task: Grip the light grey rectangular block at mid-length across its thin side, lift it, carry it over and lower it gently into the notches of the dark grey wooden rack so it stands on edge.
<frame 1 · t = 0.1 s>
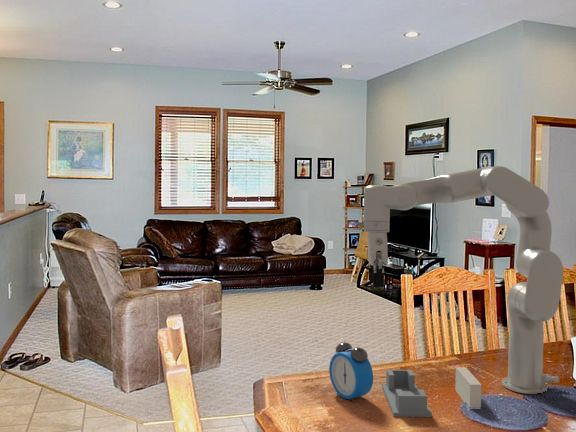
hand: (376, 283, 165), 31 cm above the table, fingers open, 9 cm apart
light grey rectangular block: (467, 399, 157), on the table
rack: (405, 401, 155), on the table
alarm clock: (350, 397, 158), on the table
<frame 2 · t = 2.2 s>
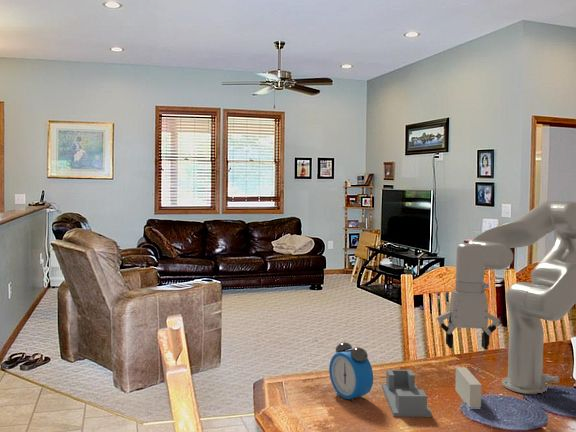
hand: (467, 347, 156), 15 cm above the table, fingers open, 9 cm apart
nothing on the table moved.
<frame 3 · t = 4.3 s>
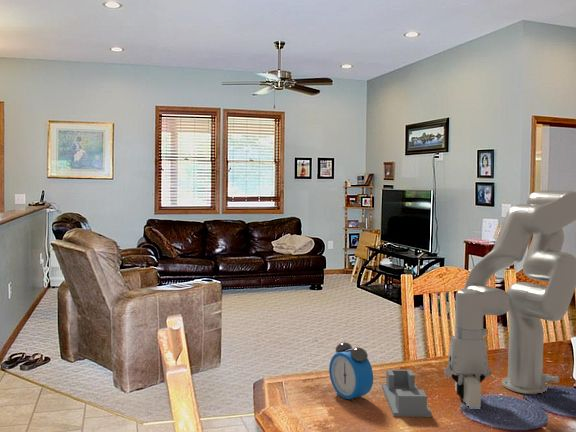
hand: (467, 396, 157), 1 cm above the table, fingers closed on light grey rectangular block, 3 cm apart
light grey rectangular block: (467, 399, 157), on the table, touching gripper
everything else where it was.
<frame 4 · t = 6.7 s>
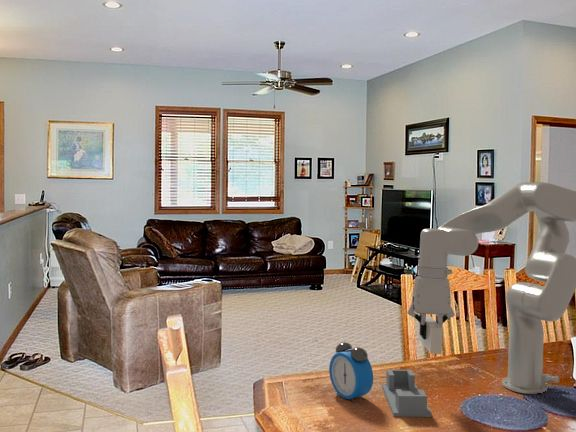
hand: (429, 337, 154), 18 cm above the table, fingers closed on light grey rectangular block, 2 cm apart
light grey rectangular block: (429, 346, 155), point 16 cm above the table, touching gripper
everything else where it was.
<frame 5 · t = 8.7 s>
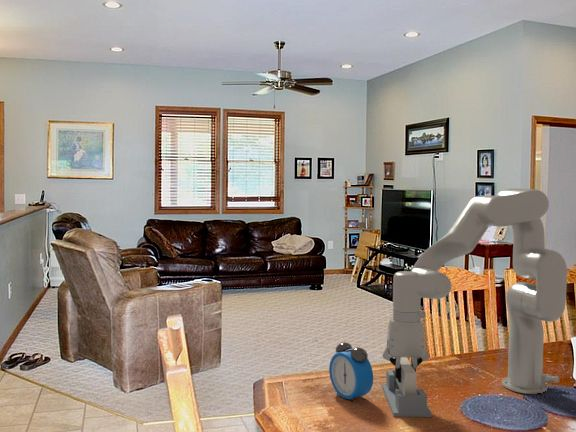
hand: (405, 380, 155), 6 cm above the table, fingers closed on light grey rectangular block, 2 cm apart
light grey rectangular block: (405, 388, 155), point 4 cm above the table, touching gripper
everything else where it was.
when the fingers open (3 cm above the table, at t = 9.5 s): light grey rectangular block stays where it is, resting on rack.
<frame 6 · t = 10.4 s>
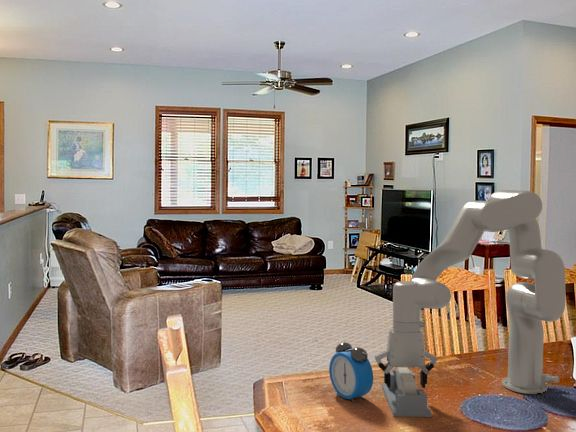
hand: (405, 386, 155), 4 cm above the table, fingers open, 9 cm apart
light grey rectangular block: (405, 397, 155), point 1 cm above the table, touching rack
everything else where it was.
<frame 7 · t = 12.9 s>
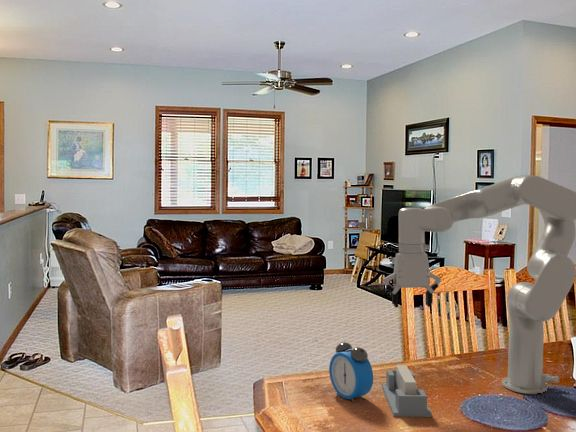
hand: (412, 306, 165), 25 cm above the table, fingers open, 9 cm apart
nothing on the table moved.
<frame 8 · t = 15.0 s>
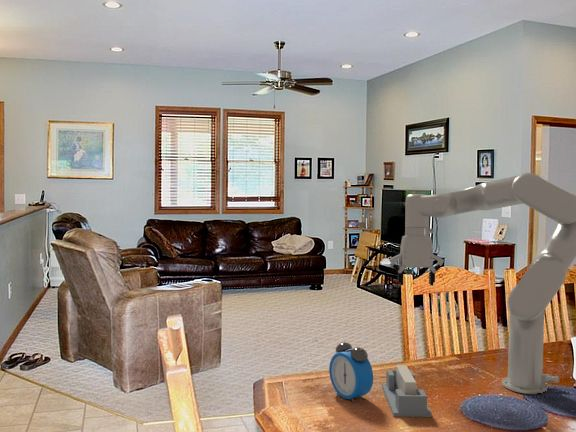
hand: (416, 284, 179), 28 cm above the table, fingers open, 9 cm apart
nothing on the table moved.
at the end: light grey rectangular block 0.0 cm off-centre on the rack, point 1.0 cm above the rack's base; light grey rectangular block tilted 0°; the gripper is holding nothing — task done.
